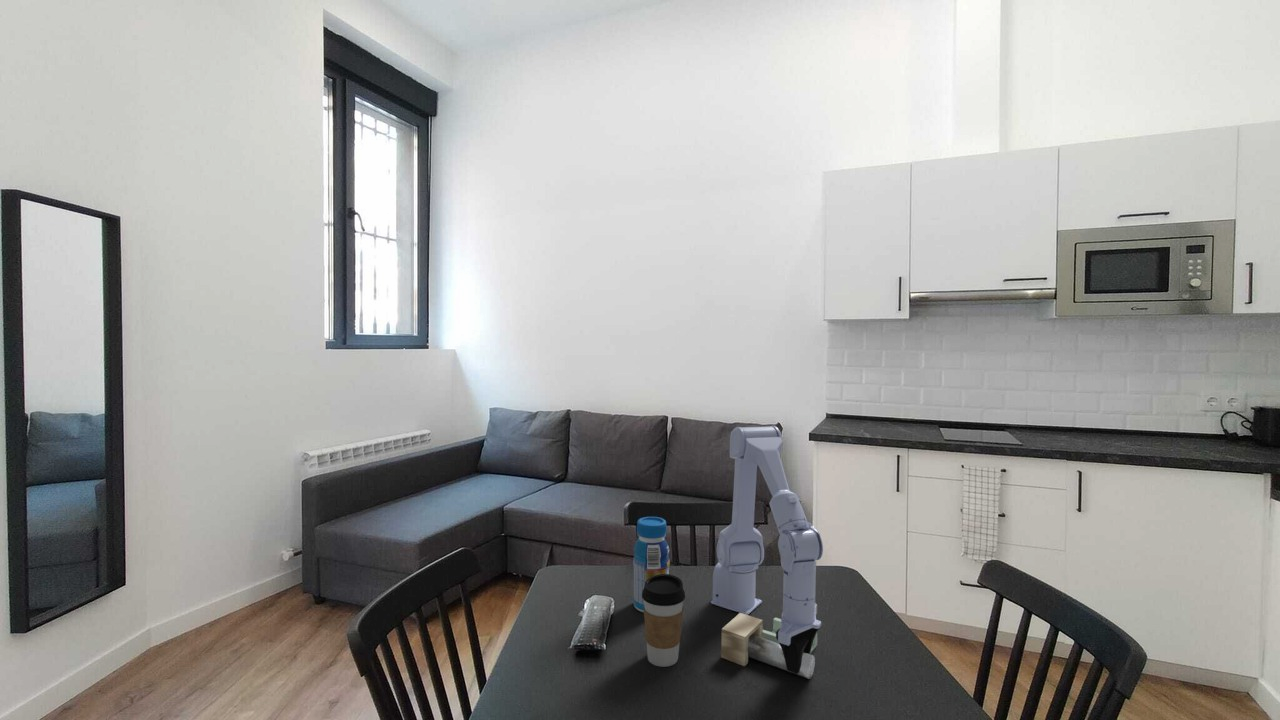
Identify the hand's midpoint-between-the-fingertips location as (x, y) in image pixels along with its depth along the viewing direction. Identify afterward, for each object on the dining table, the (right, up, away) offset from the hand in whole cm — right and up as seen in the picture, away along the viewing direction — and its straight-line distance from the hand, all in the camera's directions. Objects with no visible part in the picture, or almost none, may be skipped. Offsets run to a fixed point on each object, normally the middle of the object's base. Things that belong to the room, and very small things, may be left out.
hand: (797, 665), depth 106 cm
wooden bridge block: (-9, -1, +7) cm, 11 cm away
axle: (-3, -1, +2) cm, 4 cm away
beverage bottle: (-27, 0, +26) cm, 37 cm away
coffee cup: (-25, -1, +5) cm, 25 cm away
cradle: (+1, -1, +9) cm, 9 cm away
